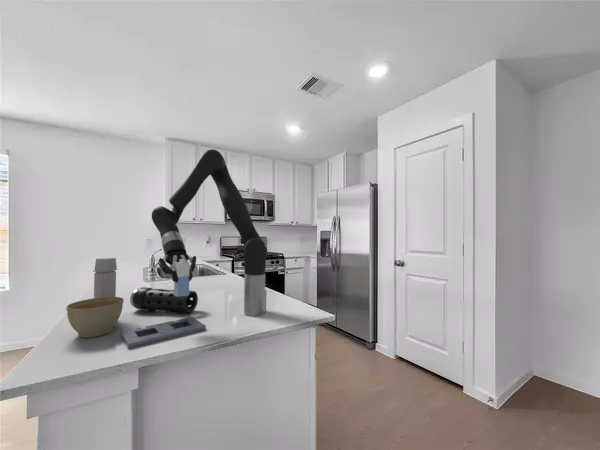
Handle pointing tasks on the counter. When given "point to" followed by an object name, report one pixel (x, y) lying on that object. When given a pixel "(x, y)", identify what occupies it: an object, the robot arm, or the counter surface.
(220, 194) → the robot arm
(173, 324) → the panel
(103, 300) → the planter bowl
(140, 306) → the muzzle brake
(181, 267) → the plug
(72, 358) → the counter surface
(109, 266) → the water bottle
